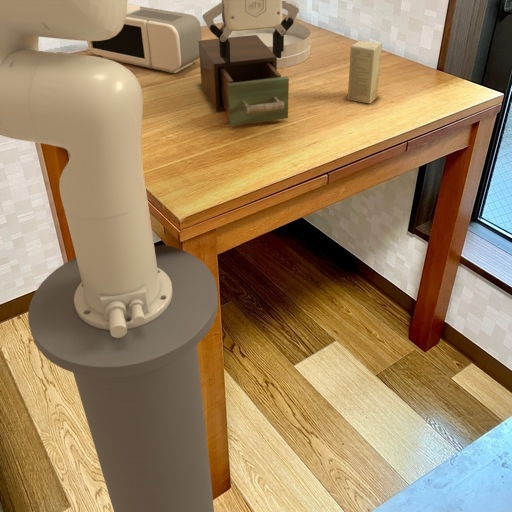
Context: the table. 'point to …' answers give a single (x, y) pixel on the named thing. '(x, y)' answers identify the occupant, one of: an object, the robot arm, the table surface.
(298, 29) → the dish
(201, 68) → the cabinet
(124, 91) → the robot arm
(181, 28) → the alarm clock
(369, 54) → the box
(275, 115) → the drawer
